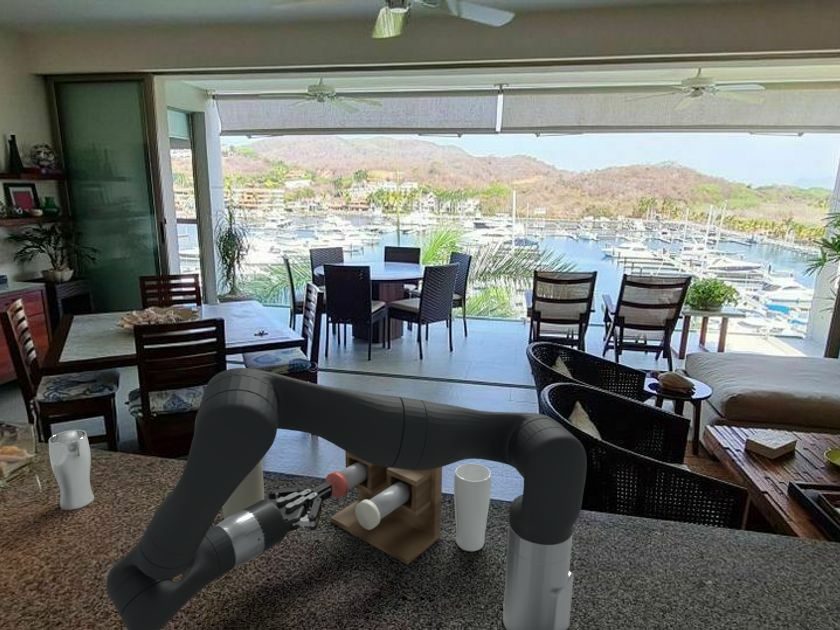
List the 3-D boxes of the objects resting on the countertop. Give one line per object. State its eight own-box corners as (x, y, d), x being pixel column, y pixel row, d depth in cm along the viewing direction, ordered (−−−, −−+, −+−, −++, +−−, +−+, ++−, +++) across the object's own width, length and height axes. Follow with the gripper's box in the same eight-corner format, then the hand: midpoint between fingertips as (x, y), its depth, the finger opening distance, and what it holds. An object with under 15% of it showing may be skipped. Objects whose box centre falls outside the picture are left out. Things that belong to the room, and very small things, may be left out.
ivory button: (412, 507, 97) (413, 483, 96) (375, 534, 89) (375, 508, 88) (393, 498, 100) (393, 475, 98) (355, 523, 92) (354, 498, 91)
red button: (379, 480, 106) (379, 458, 105) (343, 502, 98) (343, 478, 97) (362, 472, 109) (362, 450, 107) (325, 493, 101) (325, 470, 100)
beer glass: (60, 497, 113) (50, 432, 110) (98, 490, 116) (89, 426, 113) (54, 514, 107) (43, 446, 104) (94, 506, 110) (85, 440, 107)
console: (440, 537, 102) (442, 451, 98) (407, 564, 94) (408, 473, 90) (365, 499, 114) (364, 422, 110) (330, 521, 106) (328, 439, 102)
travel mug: (272, 509, 110) (268, 429, 106) (251, 532, 103) (245, 447, 98) (238, 503, 112) (232, 424, 108) (215, 526, 104) (208, 442, 100)
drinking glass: (486, 558, 96) (490, 483, 93) (449, 552, 98) (451, 479, 94) (489, 535, 103) (492, 465, 99) (454, 530, 104) (457, 461, 101)
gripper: (272, 529, 80) (354, 482, 93) (223, 497, 88) (305, 458, 101) (275, 572, 82) (355, 520, 95) (226, 537, 90) (306, 493, 103)
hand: (329, 488), depth 98 cm, fingers closed
